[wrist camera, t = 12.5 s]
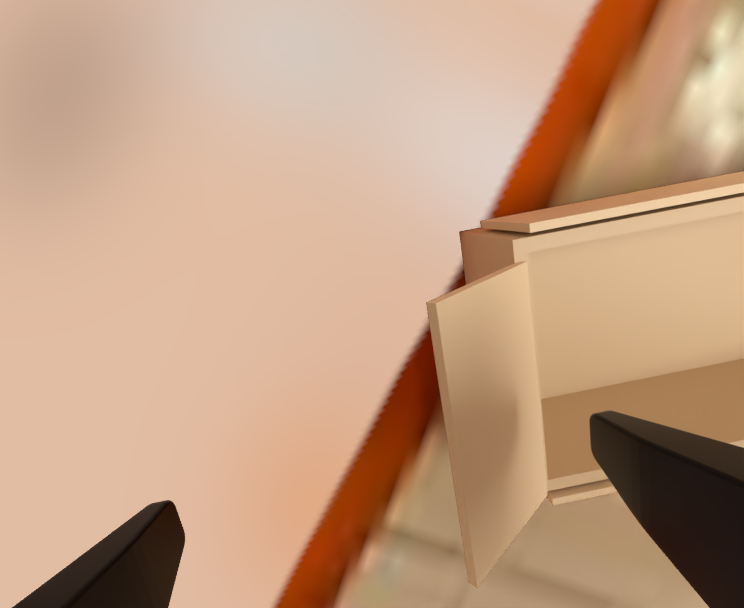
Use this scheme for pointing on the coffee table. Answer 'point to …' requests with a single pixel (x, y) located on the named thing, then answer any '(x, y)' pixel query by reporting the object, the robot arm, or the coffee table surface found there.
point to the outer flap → (490, 410)
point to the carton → (629, 315)
